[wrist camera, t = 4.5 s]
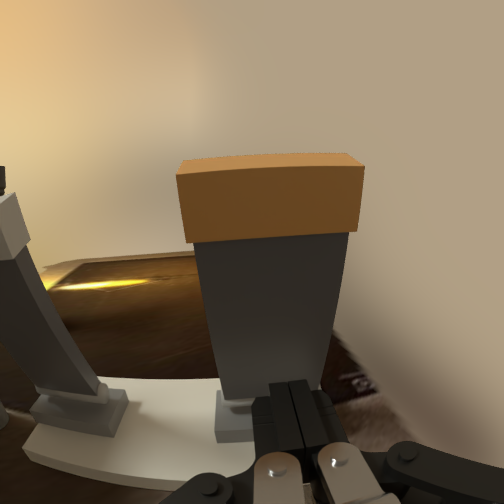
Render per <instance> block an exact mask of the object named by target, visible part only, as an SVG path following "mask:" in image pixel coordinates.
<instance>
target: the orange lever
mask: <svg viewBox="0 0 504 504" xmlns="http://www.w3.org/2000/svg"><path fill="white" fill-rule="evenodd" d="M364 169H365V166H364V165H363V164H361V163H360V162H358V161H357V160H355V159H354V158H352V157H351V156H350V155H348V154H346V153H290V154H263V155H244V156H229V157H217V158H205V159H195V160H185V161H183V162H182V164H181V166H180V168H179V169H178V172H177V173H176V180H177V187H178V194H179V201H180V208H181V214H182V220H183V226H184V232H185V238H186V243H193V245H194V251H195V257H196V263H197V269H198V275H199V280H200V286H201V291H202V297H203V302H204V307H205V312H206V317H207V322H208V327H209V332H210V337H211V342H212V347H213V351H214V356H215V361H216V365H217V370H218V374H219V378H220V383H221V401H222V406H223V408H226V407H243V406H251V405H252V403H253V402H254V400H255V398H256V397H263V396H268V383H278V382H288V381H294V380H302V379H306V380H307V382H308V385H309V387H310V390H311V391H312V390H319V389H321V386H320V380H321V376H322V372H323V368H324V364H325V360H326V355H327V351H328V347H329V342H330V338H331V333H332V328H333V323H334V318H335V314H336V308H337V303H338V298H339V293H340V287H341V282H342V275H343V269H344V263H345V257H346V250H347V243H348V236H349V232H356V231H357V228H358V221H359V213H360V206H361V197H362V188H363V180H364V179H363V178H364Z"/></svg>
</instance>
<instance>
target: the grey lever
mask: <svg viewBox="0 0 504 504" xmlns="http://www.w3.org/2000/svg"><path fill="white" fill-rule="evenodd" d="M29 241H30V236H29V233H28V231H27V228H26V225H25V222H24V219H23V216H22V213H21V210H20V207H19V204H18V200H17V197H16V194H15V192H14V193H11V194H7V195H4V196H0V341H1V342H2V343H3V345H4V346H5V348H6V349H7V350H8V352H9V353H10V354H11V356H12V357H13V358H14V360H15V361H16V362H17V364H18V365H19V366H20V367H21V369H22V370H23V371H24V372H25V374H26V375H27V376H28V377H29V378H30V380H31V381H32V382H33V383H34V384H35V388H36V390H37V392H38V393H39V394H43V395H48V396H54V397H59V398H65V399H71V400H77V401H84V402H92V403H100V404H107V403H108V401H109V388H108V386H107V384H106V383H101V382H100V380H99V379H98V377H97V376H96V375H95V373H94V372H93V370H92V369H91V367H90V366H89V364H88V363H87V361H86V360H85V358H84V357H83V355H82V353H81V352H80V350H79V349H78V347H77V345H76V344H75V342H74V341H73V339H72V337H71V336H70V334H69V332H68V330H67V329H66V327H65V325H64V323H63V322H62V320H61V318H60V316H59V314H58V312H57V311H56V309H55V307H54V305H53V303H52V301H51V299H50V297H49V295H48V293H47V291H46V289H45V287H44V285H43V283H42V281H41V278H40V276H39V274H38V272H37V270H36V268H35V265H34V263H33V260H32V258H31V256H30V253H29V251H28V248H27V246H26V244H27V243H28V242H29Z"/></svg>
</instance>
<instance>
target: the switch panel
mask: <svg viewBox="0 0 504 504" xmlns="http://www.w3.org/2000/svg"><path fill="white" fill-rule="evenodd" d="M98 379H99V380H100V382H101V383H106V384H107V386H108V388H109V401H108V403H107V404H100V403H92V402H84V401H77V400H71V399H65V398H59V397H54V396H48V395H43V394H41V396H40V397H39V398H38V400H37V401H36V402H35V403H34V405H33V406H32V407H31V409H30V412H31V414H32V416H33V417H34V419H35V421H36V422H38V424H37V426H36V427H35V429H34V430H33V432H32V433H31V435H30V436H29V438H28V439H27V441H26V442H25V444H24V445H23V447H22V449H23V450H24V452H25V453H26V454H27V456H28V457H29V459H30V460H31V461H33V462H36V463H39V464H42V465H45V466H48V467H51V468H54V469H57V470H60V471H64V472H67V473H71V474H74V475H78V476H82V477H86V478H90V479H94V480H99V481H104V482H109V483H114V484H119V485H125V486H131V487H138V488H146V489H155V490H165V491H176V490H177V489H178V488H180V487H181V486H182V485H183V484H185V483H186V482H187V481H188V480H190V479H191V478H192V477H194V476H196V475H198V474H201V473H207V472H212V473H218V474H221V475H223V476H225V477H226V478H227V477H230V476H234V475H237V474H240V473H242V472H244V471H246V470H247V469H249V468H250V467H251V466H252V464H253V462H254V460H255V446H254V435H253V423H252V412H251V406H243V407H226V408H223V406H222V401H221V383H220V378H218V379H186V380H157V379H126V378H109V377H98ZM321 390H322V389H321ZM308 484H310V483H306V484H303V485H308Z"/></svg>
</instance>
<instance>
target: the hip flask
mask: <svg viewBox="0 0 504 504" xmlns="http://www.w3.org/2000/svg"><path fill="white" fill-rule="evenodd" d="M8 421H9V416H8V414H7V412H6V410H5V408H4V407H3V405H2V403H1V401H0V430H1V429H2V428H4V427H5V426H6V424H7V423H8Z"/></svg>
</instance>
